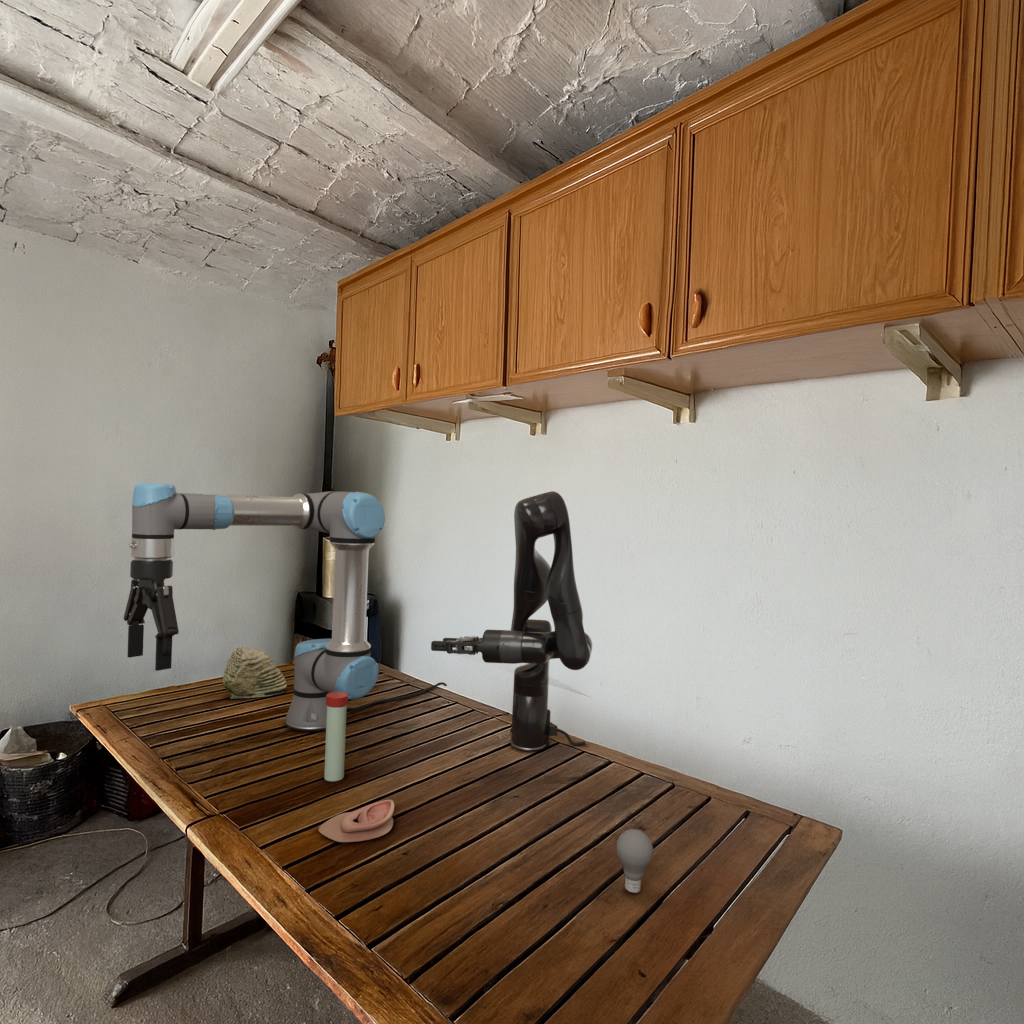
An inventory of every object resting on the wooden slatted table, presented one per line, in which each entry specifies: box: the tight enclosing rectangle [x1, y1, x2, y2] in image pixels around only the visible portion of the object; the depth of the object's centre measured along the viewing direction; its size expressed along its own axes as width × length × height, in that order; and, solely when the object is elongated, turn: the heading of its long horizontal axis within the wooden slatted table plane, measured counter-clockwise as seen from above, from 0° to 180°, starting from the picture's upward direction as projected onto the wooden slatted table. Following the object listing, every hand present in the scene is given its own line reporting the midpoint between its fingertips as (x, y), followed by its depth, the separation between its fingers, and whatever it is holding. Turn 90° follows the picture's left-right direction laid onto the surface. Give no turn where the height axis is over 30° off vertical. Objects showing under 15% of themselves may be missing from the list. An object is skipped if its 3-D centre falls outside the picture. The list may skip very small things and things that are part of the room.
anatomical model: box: [317, 799, 395, 843], centre depth 122 cm, size 13×4×12 cm
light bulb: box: [615, 828, 654, 894], centre depth 106 cm, size 6×6×10 cm
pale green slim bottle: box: [323, 704, 348, 782], centre depth 143 cm, size 4×4×18 cm
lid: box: [326, 692, 349, 707], centre depth 143 cm, size 5×5×2 cm
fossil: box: [222, 646, 288, 699], centre depth 198 cm, size 9×18×15 cm, turn 132°
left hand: (148, 662), depth 129 cm, fingers open, 13 cm apart
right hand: (437, 644), depth 149 cm, fingers open, 8 cm apart
